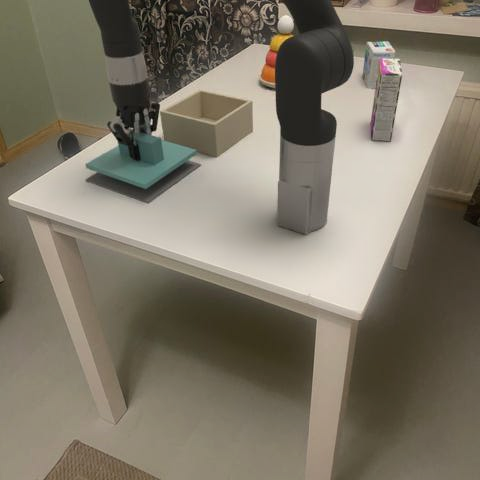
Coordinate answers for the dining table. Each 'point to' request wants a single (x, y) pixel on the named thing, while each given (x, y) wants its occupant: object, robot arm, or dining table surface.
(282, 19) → the stacking toy
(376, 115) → the candy bar box
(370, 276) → the dining table surface
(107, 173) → the lid
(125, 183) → the rubber mat
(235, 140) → the storage box
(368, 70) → the light bulb box
